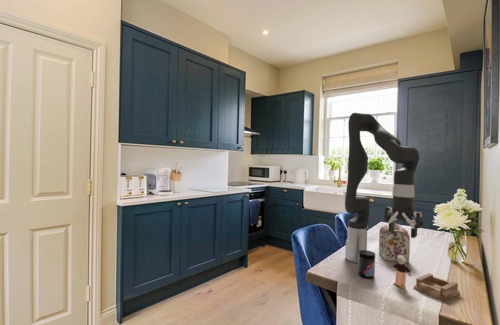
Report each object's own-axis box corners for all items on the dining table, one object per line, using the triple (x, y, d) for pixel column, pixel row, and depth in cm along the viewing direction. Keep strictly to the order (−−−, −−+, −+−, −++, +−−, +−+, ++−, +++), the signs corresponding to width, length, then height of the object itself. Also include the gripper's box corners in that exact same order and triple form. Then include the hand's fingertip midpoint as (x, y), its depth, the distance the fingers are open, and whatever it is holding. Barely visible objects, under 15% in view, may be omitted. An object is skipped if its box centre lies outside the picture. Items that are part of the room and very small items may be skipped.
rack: (413, 288, 105) (414, 278, 105) (428, 281, 112) (429, 272, 111) (445, 301, 96) (445, 290, 96) (459, 293, 102) (460, 283, 102)
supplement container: (359, 278, 113) (360, 254, 113) (356, 272, 120) (357, 249, 120) (376, 280, 112) (377, 256, 112) (372, 273, 118) (373, 250, 118)
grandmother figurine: (389, 284, 108) (390, 254, 108) (392, 281, 111) (393, 251, 111) (410, 291, 103) (411, 259, 103) (412, 288, 105) (413, 257, 105)
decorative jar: (409, 263, 132) (410, 227, 132) (384, 260, 134) (385, 226, 134) (401, 254, 144) (402, 222, 143) (378, 252, 146) (379, 220, 146)
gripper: (381, 193, 111) (380, 231, 111) (417, 198, 98) (415, 241, 99) (391, 192, 114) (390, 229, 115) (427, 197, 102) (426, 238, 102)
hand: (402, 234), depth 107 cm, fingers open, 8 cm apart
